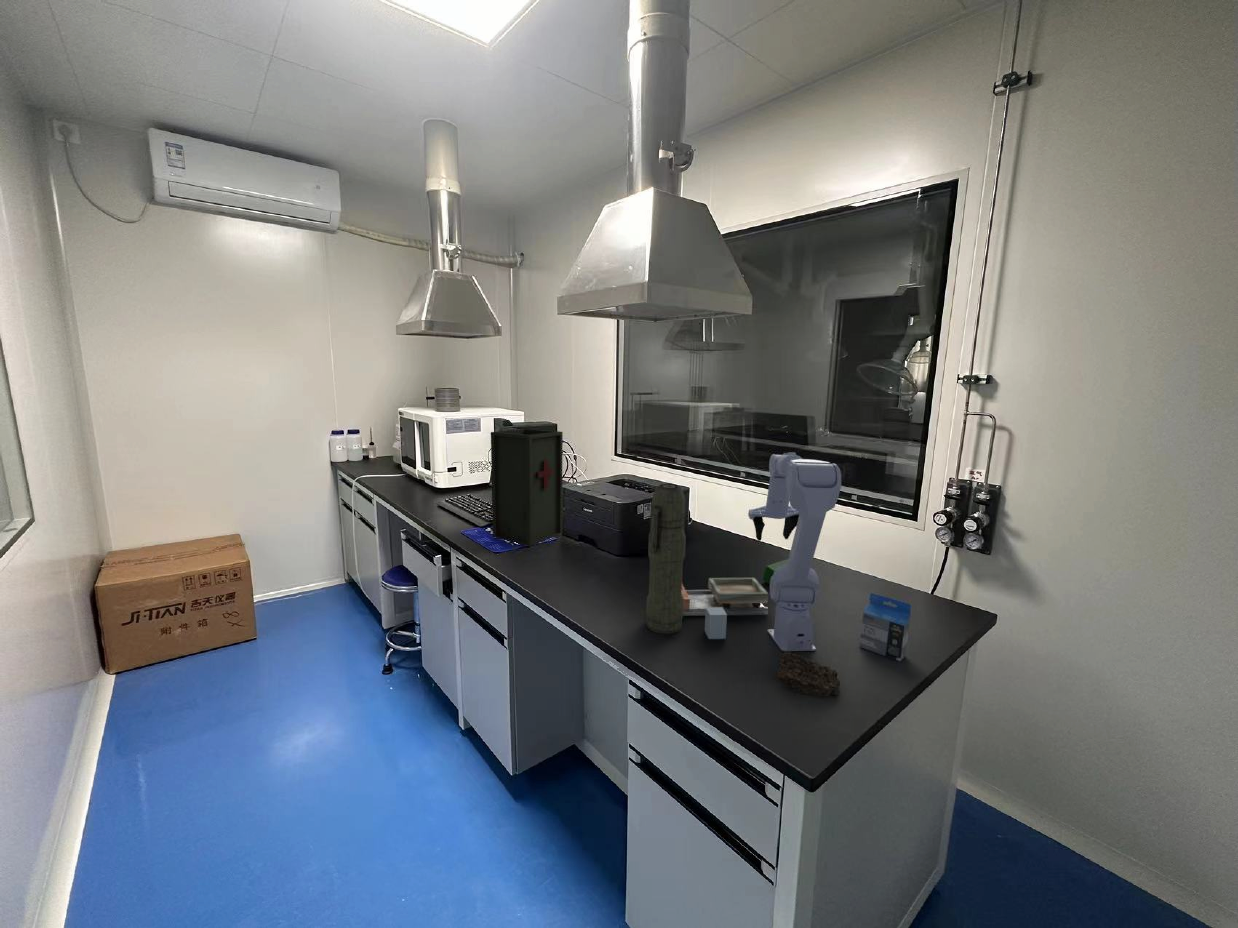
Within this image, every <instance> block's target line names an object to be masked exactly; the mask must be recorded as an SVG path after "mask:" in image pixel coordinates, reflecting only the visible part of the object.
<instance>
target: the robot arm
mask: <svg viewBox="0 0 1238 928" xmlns="http://www.w3.org/2000/svg"><path fill="white" fill-rule="evenodd" d="M768 471H769V476H770V478H769V484H768V490H767V496H766V497H767V498H766V503H765V505H764V506H761V507H756V508H752V509H748V515H747V516H748V518H749V520H752V522H753V525H754V529H755V538H756V540H757V541H758V542H760V541H761V540H762V536H763V535H762V534H763V531H764V528H765V526H766V524H765V522H764V519H763V518H768V519H774V520H782V519H784V523H783V524H784V525H783V530H782V536H783V537H784V539H785V540H789V537H790V536H791V534H792V533H793V531H794V529H795V531H794V535H793V540H792V543H791V546H790V551H789V555H788V558H787V559H788V563H787V564H785V565H782V566H780V567H778V568H776V569H775V571H774V574H773V576H772V577H771V579H770V584H769V595H770V598H771V600H772V601H773V602H774V603H775V611H774V612H775V613H774V625H773V626H774V627H773V628H769V629H767V633H768V634H769V635H770V637H771V638H772V640H773V641H774V642H775V644H776V645H777V646H778V647H779V649H780V651H782V652H787V651H789V652H805V651H806V652H809V651H810V652H811V651H813V652H815V651H817V648H816V646H815V645H814V644H813V641H814V630H815V623H814V620H813V619H812V618H811V616H810V611H809V609H812V605H814V604H816V603H817V601H818V598H819V589H820V579H819V576H818V574H817V571H816V570H815V569H813V568H812V564H813V560H814V556H815V553H816V550H817V546H818V542H819V539H820V536H821V532H822V529H823V526H824V522H825V518H826V516H827V512H829V511H831V510H832V509H834V508H836V503H837V502H838V499H839V496H840V493H841V489H842V472H841V469H840V467H839V466H838V464H836V463H831V462H830V461H824V460H818V459H805V458H804V459H803V458H802V457H801V456H800V455H797V453H796V452H795V451H793V452H791V451H790V452H783V454H772V455H771V456H770V458H769V464H768Z"/></svg>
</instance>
